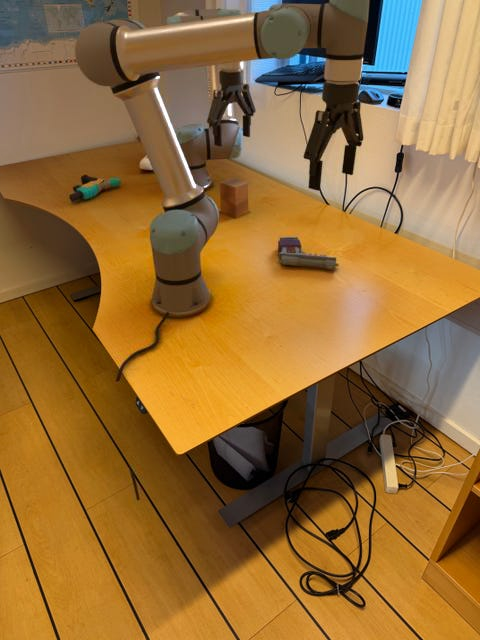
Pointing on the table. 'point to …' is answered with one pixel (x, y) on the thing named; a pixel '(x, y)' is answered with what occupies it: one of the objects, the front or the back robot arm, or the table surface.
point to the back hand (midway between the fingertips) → (232, 140)
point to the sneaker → (145, 164)
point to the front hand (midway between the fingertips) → (331, 181)
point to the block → (234, 197)
